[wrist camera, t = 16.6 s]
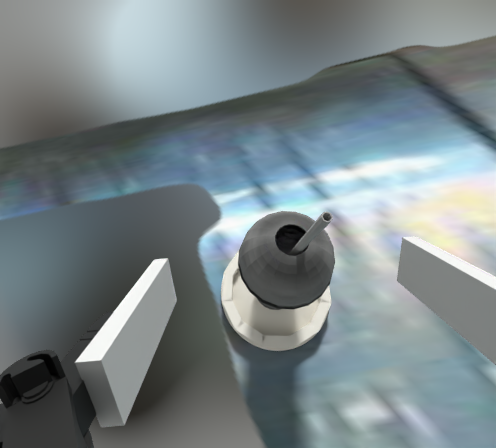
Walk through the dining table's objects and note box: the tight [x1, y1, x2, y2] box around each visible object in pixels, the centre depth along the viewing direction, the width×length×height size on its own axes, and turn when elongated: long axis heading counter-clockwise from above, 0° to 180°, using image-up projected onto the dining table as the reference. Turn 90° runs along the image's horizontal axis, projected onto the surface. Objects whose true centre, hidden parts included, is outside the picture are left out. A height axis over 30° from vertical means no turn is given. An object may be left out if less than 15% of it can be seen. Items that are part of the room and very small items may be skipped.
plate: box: [221, 251, 331, 351], centre depth 28 cm, size 13×13×2 cm
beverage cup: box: [238, 211, 335, 310], centre depth 20 cm, size 7×7×20 cm
